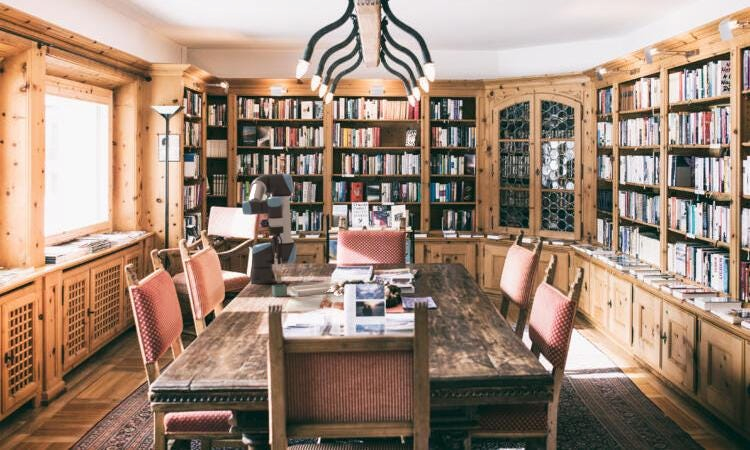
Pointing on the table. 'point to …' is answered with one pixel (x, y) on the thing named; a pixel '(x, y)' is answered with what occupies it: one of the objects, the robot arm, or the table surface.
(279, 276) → the dowel
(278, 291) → the pen cup
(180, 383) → the table surface
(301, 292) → the tray
